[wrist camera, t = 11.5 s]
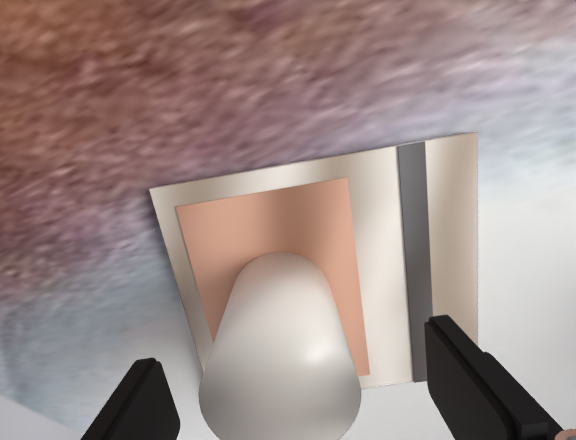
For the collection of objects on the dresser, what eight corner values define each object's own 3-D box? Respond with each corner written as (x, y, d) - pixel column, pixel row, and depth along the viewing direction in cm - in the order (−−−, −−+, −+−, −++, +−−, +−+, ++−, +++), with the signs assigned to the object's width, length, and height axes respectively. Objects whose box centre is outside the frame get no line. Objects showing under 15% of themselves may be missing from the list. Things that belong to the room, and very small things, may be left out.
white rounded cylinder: (323, 243, 14) (351, 317, 8) (336, 332, 15) (368, 448, 10) (221, 261, 14) (179, 344, 8) (243, 347, 16) (220, 470, 10)
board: (466, 132, 14) (479, 132, 13) (469, 361, 17) (478, 372, 16) (156, 186, 14) (148, 189, 13) (217, 400, 18) (214, 413, 17)
